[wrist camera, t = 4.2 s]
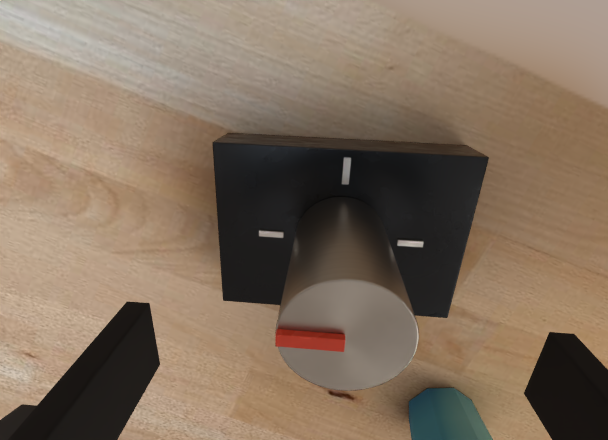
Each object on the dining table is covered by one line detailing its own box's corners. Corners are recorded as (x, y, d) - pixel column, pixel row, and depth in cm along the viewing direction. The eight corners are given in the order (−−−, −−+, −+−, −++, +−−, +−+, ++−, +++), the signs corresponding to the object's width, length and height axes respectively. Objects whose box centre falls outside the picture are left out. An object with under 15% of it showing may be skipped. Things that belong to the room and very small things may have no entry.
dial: (390, 199, 18) (434, 291, 11) (379, 279, 20) (408, 404, 13) (297, 193, 18) (274, 279, 11) (294, 272, 20) (273, 391, 13)
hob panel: (467, 145, 20) (490, 157, 17) (434, 289, 24) (448, 320, 21) (228, 132, 20) (211, 142, 18) (234, 275, 24) (222, 302, 22)
